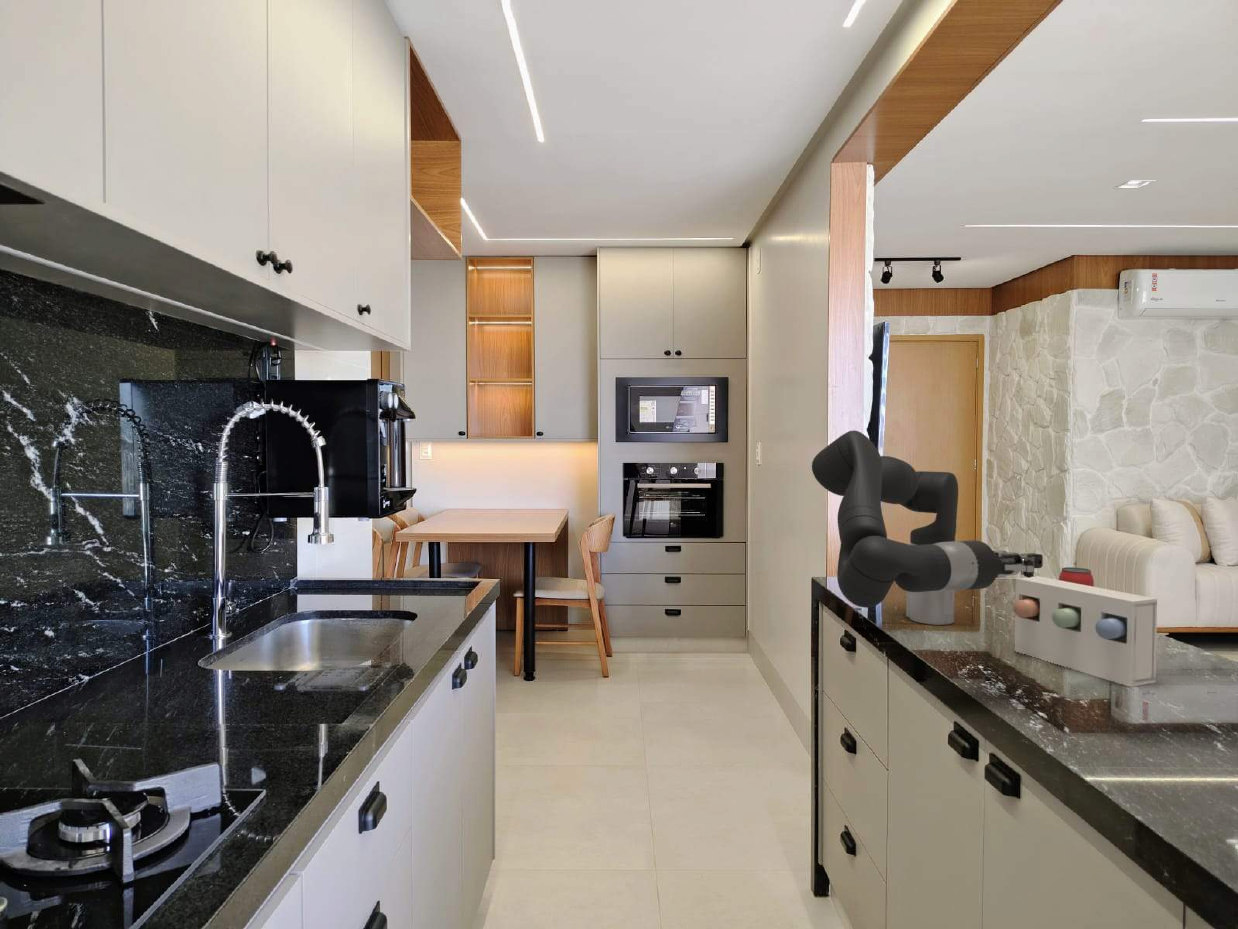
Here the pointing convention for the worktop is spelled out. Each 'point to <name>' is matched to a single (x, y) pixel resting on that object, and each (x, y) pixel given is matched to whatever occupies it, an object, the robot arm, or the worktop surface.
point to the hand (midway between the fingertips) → (1038, 560)
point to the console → (1089, 630)
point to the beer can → (1077, 576)
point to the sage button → (1067, 617)
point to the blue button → (1111, 628)
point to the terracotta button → (1027, 608)
